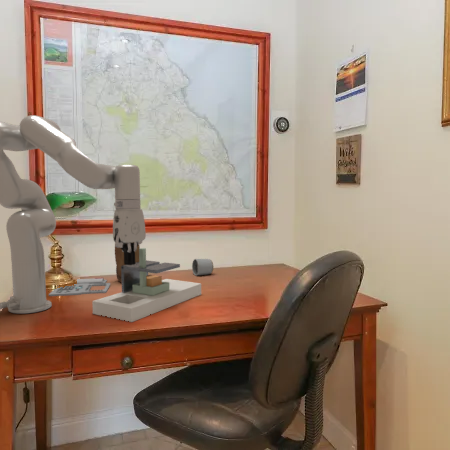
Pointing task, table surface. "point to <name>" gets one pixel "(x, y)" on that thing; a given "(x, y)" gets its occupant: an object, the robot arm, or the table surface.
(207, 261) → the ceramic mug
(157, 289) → the green peg stand
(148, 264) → the grey overhanging bracket
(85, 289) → the blue-grey slotted plate
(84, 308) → the table surface
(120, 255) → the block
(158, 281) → the orange block
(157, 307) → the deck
